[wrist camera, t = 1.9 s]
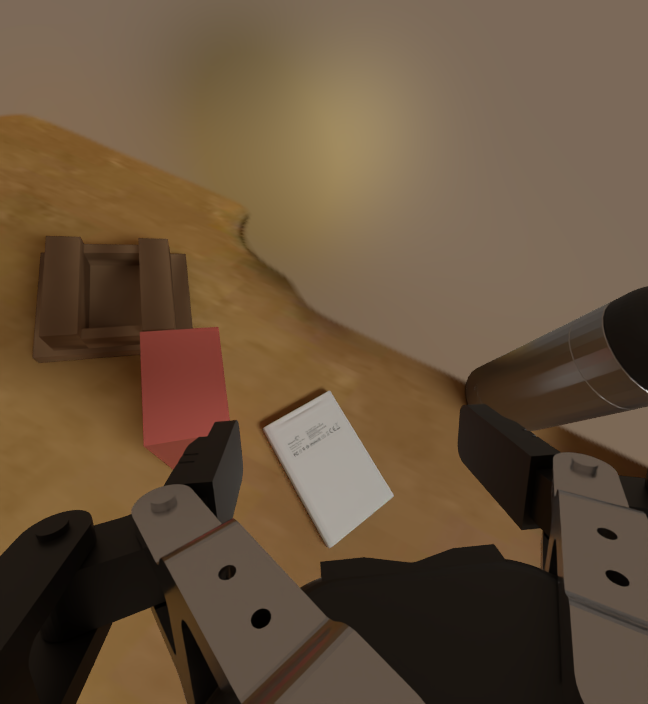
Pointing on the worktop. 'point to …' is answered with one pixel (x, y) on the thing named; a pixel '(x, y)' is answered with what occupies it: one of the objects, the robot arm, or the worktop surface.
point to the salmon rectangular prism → (180, 389)
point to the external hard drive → (328, 467)
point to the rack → (106, 297)
